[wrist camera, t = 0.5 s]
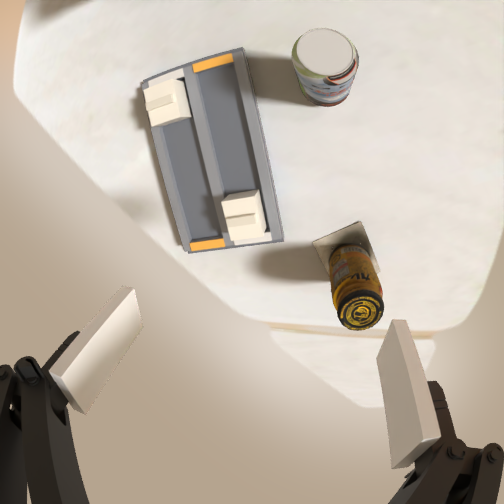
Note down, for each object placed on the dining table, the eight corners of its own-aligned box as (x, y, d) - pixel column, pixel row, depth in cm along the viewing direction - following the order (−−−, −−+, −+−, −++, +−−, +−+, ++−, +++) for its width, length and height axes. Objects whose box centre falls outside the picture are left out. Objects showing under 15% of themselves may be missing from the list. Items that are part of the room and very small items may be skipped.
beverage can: (318, 116, 32) (325, 111, 21) (283, 69, 30) (273, 44, 19) (359, 92, 29) (385, 78, 19) (324, 45, 27) (333, 11, 17)
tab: (157, 91, 32) (140, 89, 28) (184, 81, 31) (169, 77, 27) (164, 125, 34) (148, 127, 30) (191, 117, 33) (177, 116, 29)
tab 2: (228, 194, 37) (219, 203, 33) (259, 189, 36) (253, 198, 32) (237, 230, 39) (229, 243, 35) (266, 226, 38) (261, 239, 34)
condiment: (335, 289, 41) (342, 344, 31) (312, 241, 39) (313, 289, 28) (380, 270, 39) (401, 322, 28) (360, 220, 36) (381, 261, 26)
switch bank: (147, 80, 33) (138, 79, 30) (244, 49, 29) (240, 44, 27) (191, 250, 43) (185, 257, 41) (284, 238, 39) (282, 245, 37)
